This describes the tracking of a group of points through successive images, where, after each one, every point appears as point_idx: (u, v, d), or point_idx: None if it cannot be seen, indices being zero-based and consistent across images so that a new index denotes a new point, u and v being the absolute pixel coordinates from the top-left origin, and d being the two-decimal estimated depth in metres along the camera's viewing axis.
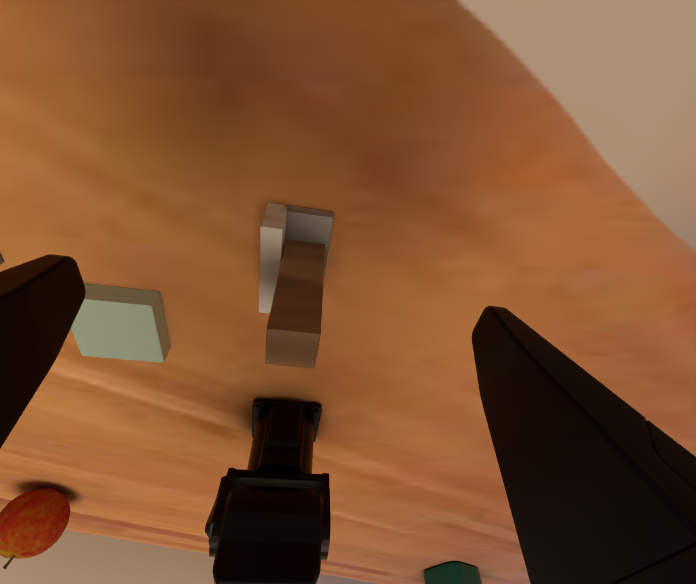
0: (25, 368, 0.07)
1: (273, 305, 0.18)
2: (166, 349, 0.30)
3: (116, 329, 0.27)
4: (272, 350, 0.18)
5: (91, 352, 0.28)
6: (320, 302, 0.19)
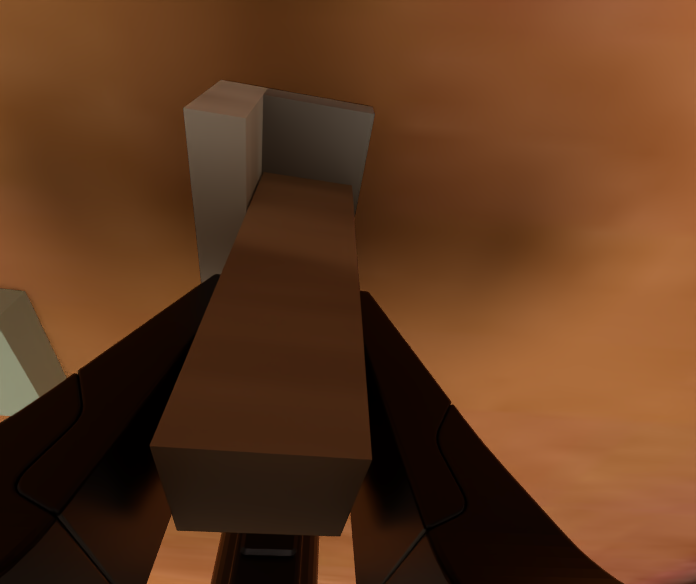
0: None
1: (201, 337, 0.05)
2: None
3: None
4: (192, 503, 0.05)
5: None
6: (357, 324, 0.06)
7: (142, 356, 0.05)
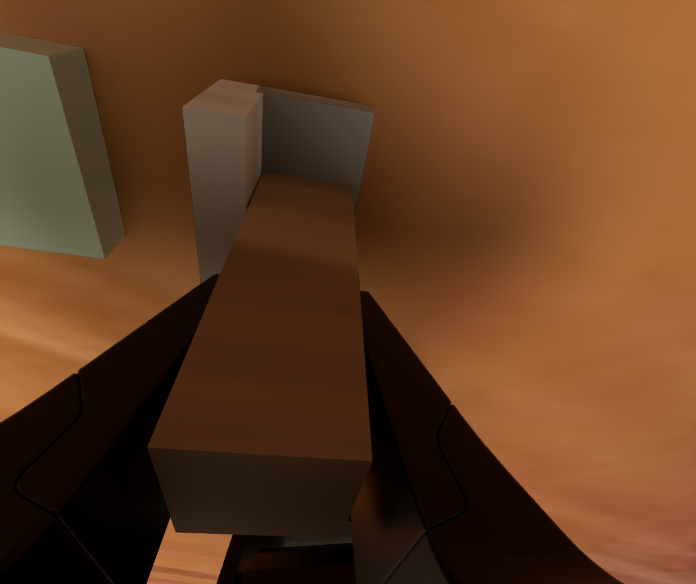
0: None
1: (200, 338, 0.05)
2: (114, 231, 0.13)
3: None
4: (191, 504, 0.05)
5: None
6: (357, 324, 0.06)
7: (142, 356, 0.05)
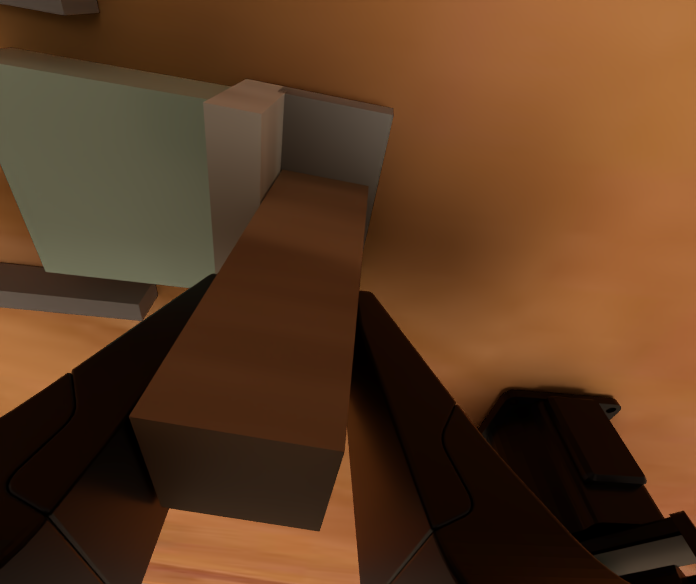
0: None
1: (195, 320, 0.06)
2: None
3: (130, 189, 0.10)
4: (173, 479, 0.05)
5: (67, 262, 0.12)
6: (351, 319, 0.06)
7: (136, 355, 0.05)
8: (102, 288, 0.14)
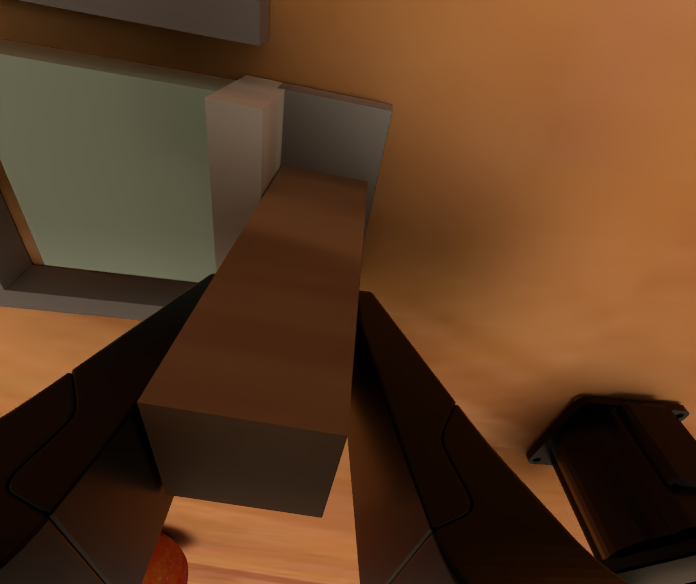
0: None
1: (199, 310, 0.06)
2: None
3: (127, 180, 0.10)
4: (179, 466, 0.05)
5: (66, 255, 0.12)
6: (352, 310, 0.06)
7: (137, 356, 0.05)
8: None
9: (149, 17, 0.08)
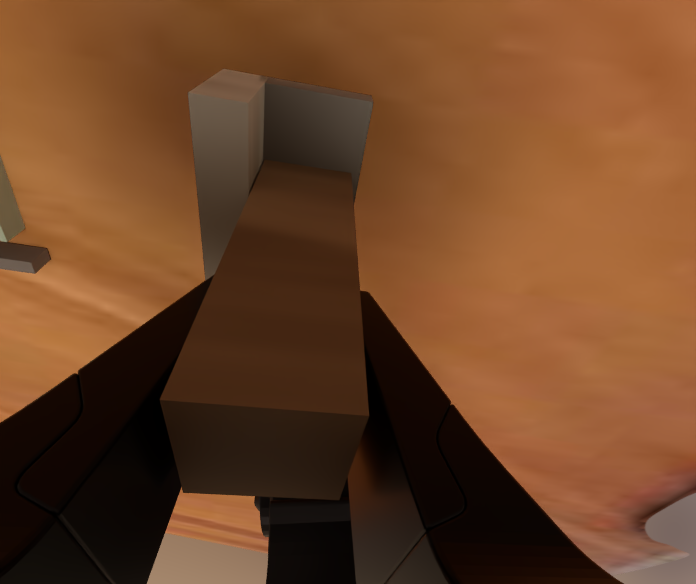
0: None
1: (206, 307, 0.06)
2: (15, 225, 0.21)
3: None
4: (198, 462, 0.05)
5: None
6: (355, 298, 0.06)
7: (142, 356, 0.05)
8: (9, 251, 0.22)
9: None
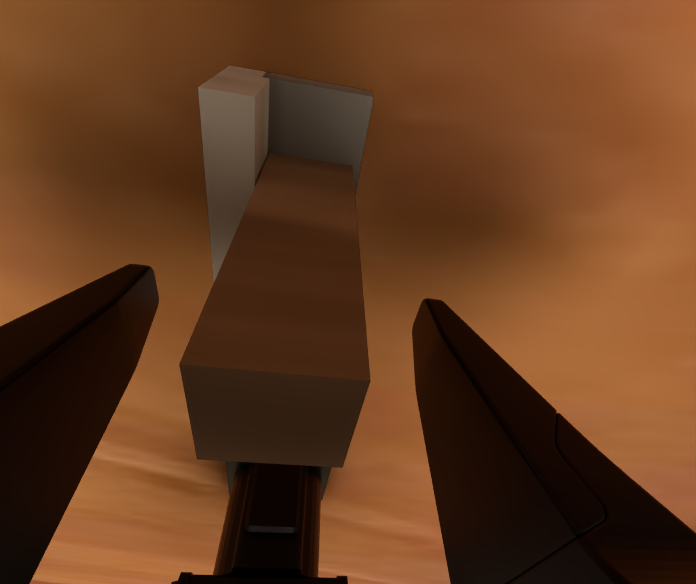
0: (115, 375, 0.07)
1: (218, 285, 0.06)
2: None
3: None
4: (212, 427, 0.06)
5: None
6: (357, 278, 0.07)
7: (11, 344, 0.05)
8: None
9: None
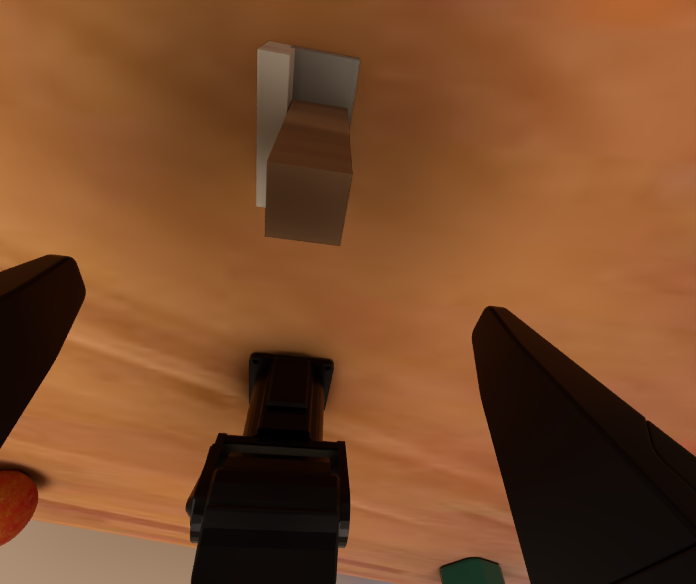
0: (25, 368, 0.07)
1: (277, 143, 0.12)
2: None
3: None
4: (276, 209, 0.12)
5: None
6: (348, 148, 0.13)
7: None
8: None
9: None
